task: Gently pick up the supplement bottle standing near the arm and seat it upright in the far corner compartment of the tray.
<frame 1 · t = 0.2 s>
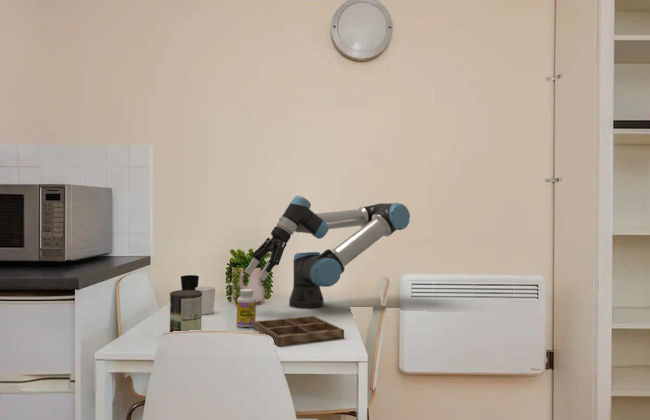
hand: (254, 276, 190), 16 cm above the table, tool tilted 35°, fingers open, 13 cm apart
supplement bottle: (246, 326, 176), on the table
tray: (297, 333, 165), on the table
white cup: (204, 313, 197), on the table
cup: (189, 304, 215), on the table
coffee can: (185, 335, 162), on the table
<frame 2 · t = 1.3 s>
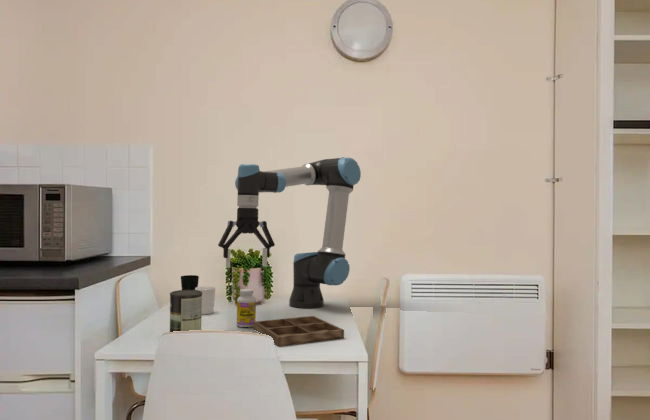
hand: (246, 266, 176), 21 cm above the table, tool pointing down, fingers open, 13 cm apart
nothing on the table moved.
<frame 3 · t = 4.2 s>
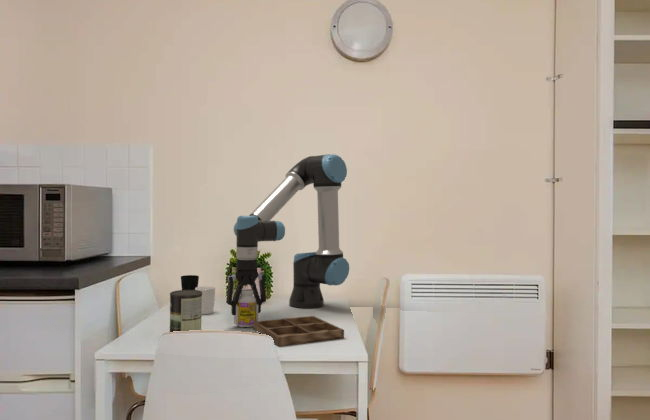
hand: (246, 323, 176), 1 cm above the table, tool pointing down, fingers closed on supplement bottle, 7 cm apart
supplement bottle: (246, 326, 176), on the table, touching gripper
everything else where it was.
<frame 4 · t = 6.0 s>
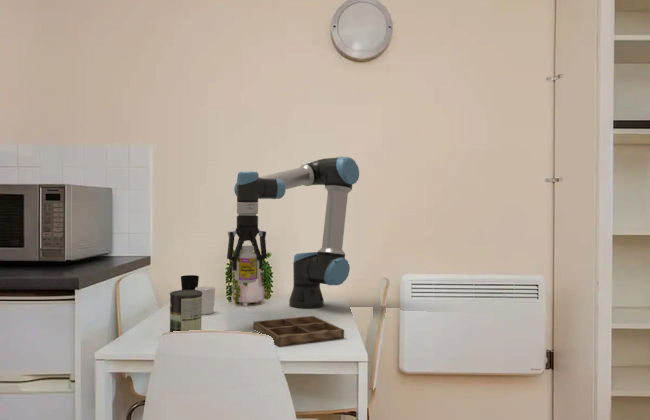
hand: (246, 279, 176), 17 cm above the table, tool pointing down, fingers closed on supplement bottle, 7 cm apart
supplement bottle: (246, 282, 176), point 15 cm above the table, touching gripper
everything else where it was.
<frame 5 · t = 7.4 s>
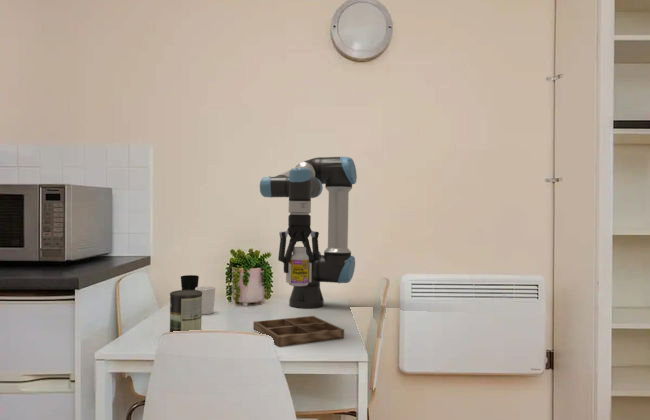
hand: (298, 282, 166), 17 cm above the table, tool pointing down, fingers closed on supplement bottle, 7 cm apart
supplement bottle: (298, 285, 166), point 16 cm above the table, touching gripper
everything else where it was.
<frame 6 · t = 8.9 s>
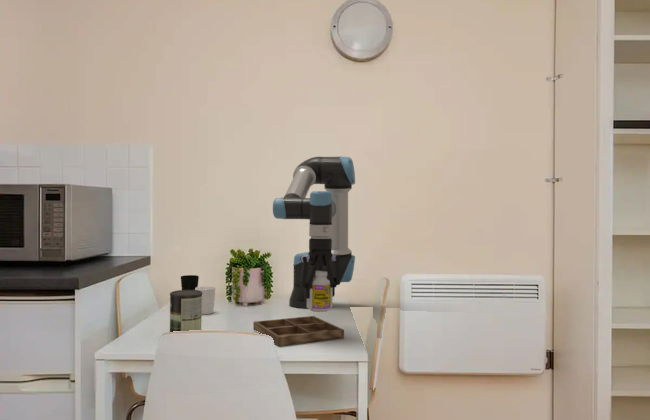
hand: (319, 307, 163), 10 cm above the table, tool pointing down, fingers closed on supplement bottle, 7 cm apart
supplement bottle: (319, 310, 163), point 8 cm above the table, touching gripper
everything else where it was.
when the fingers open (3 cm above the table, at t = 10.6 s): supplement bottle drops 2 cm, resting on tray.
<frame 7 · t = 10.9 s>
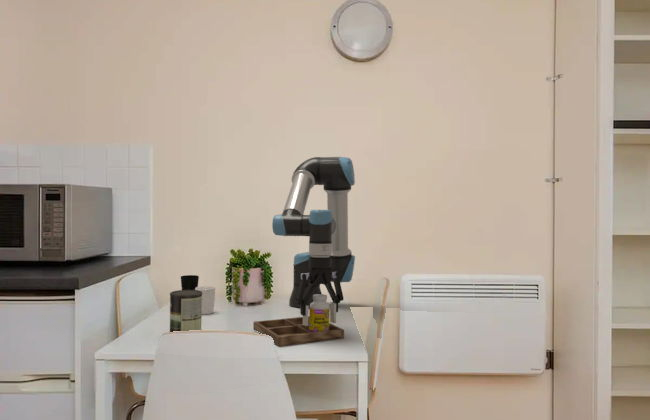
hand: (319, 323, 163), 4 cm above the table, tool pointing down, fingers open, 9 cm apart
supplement bottle: (319, 334, 163), resting on tray
everything else where it was.
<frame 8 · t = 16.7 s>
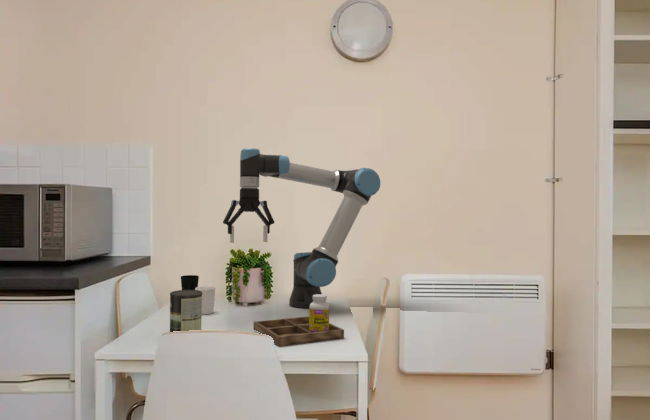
hand: (248, 242, 193), 29 cm above the table, tool pointing down, fingers open, 13 cm apart
nothing on the table moved.
at the end: supplement bottle 0.1 cm from the target spot on the tray, point 0.4 cm above the tray's base; supplement bottle tilted 0°; the gripper is holding nothing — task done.
